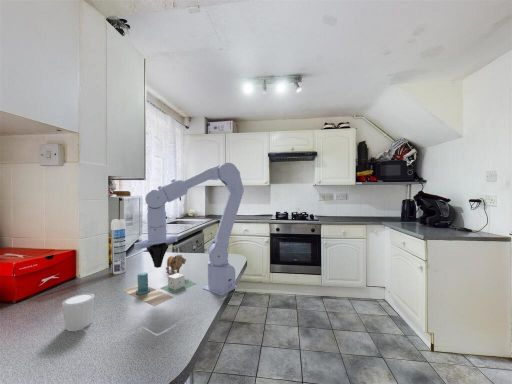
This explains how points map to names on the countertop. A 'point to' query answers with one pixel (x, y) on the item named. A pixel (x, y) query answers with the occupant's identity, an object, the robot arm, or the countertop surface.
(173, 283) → the die
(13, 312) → the countertop surface
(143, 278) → the pawn
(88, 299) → the white cylinder
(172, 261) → the lion figurine
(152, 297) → the track
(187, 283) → the felt pad
